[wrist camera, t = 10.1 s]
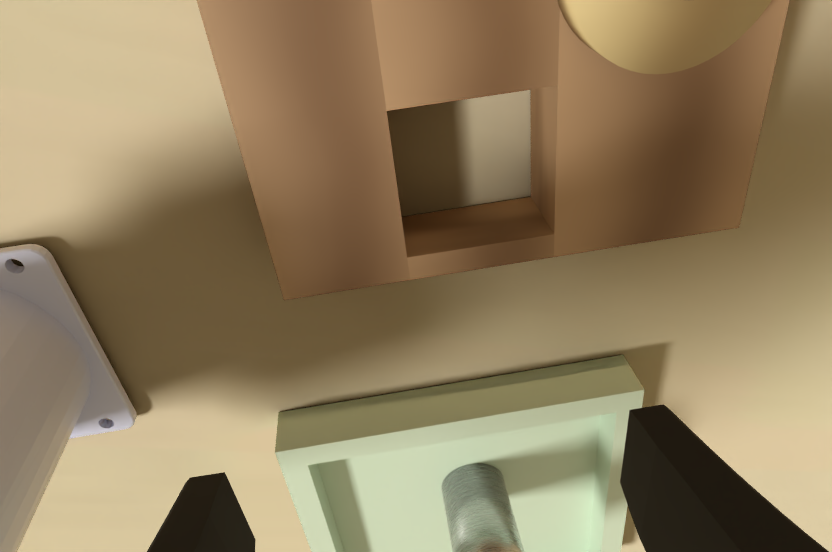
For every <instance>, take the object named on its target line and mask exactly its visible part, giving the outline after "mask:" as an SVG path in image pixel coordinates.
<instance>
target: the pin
mask: <svg viewBox="0 0 832 552" xmlns="http://www.w3.org/2000/svg"><path fill="white" fill-rule="evenodd" d="M441 489H442V495H443V501H444V506H445V512H446V517H447V523H448V529H449V534H450V540H451V546H452V551H453V552H524V549H523V545H522V542H521V538H520V535H519V531H518V528H517V524H516V521H515V517H514V514H513V510H512V506H511V503H510V499H509V496H508V492H507V489H506V485H505V482H504V478H503V475H502V473H501V471H500V470H499V469H497V468H496V467H494V466H492V465H488V464H483V463H474V464H468V465H464V466H461V467H459V468H457V469H455V470H453V471H452V472H450V473H449V474H448V475H447V476H446V477H445V479H444V480H443V482H442V486H441Z"/></svg>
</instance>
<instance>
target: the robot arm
mask: <svg viewBox="0 0 832 552" xmlns="http://www.w3.org/2000/svg"><path fill="white" fill-rule="evenodd" d="M11 259H16V260H18V261H20V262H21V263H22V264H23V265H24V267H22V266H18V265H15V264H14V263H13V262H12V261H11ZM136 417H137V414H136V411H135V409H134V407H133V405H132V403H131V402H130V400H129V398H128V396H127V394H126V392H125V390H124V388H123V387H122V385H121V383H120V381H119V379H118V377H117V375H116V374H115V372H114V370H113V368H112V366H111V364H110V362H109V360H108V359H107V357H106V355H105V353H104V351H103V349H102V347H101V345H100V344H99V342H98V340H97V338H96V336H95V334H94V332H93V331H92V329H91V327H90V325H89V323H88V321H87V319H86V317H85V316H84V314H83V312H82V310H81V308H80V306H79V304H78V303H77V301H76V299H75V297H74V295H73V293H72V291H71V289H70V288H69V286H68V284H67V282H66V280H65V278H64V276H63V274H62V273H61V271H60V269H59V267H58V265H57V263H56V261H55V260H54V258H53V256H52V254H51V253H50V252H49V251H48V250H47V249H46V248H44V247H43V246H40V245H37V244H25V245H18V246H12V247H5V248H0V552H17V550H18V548H19V546H20V544H21V542H22V540H23V537H24V535H25V533H26V531H27V529H28V526H29V524H30V522H31V520H32V518H33V516H34V513H35V511H36V509H37V507H38V505H39V503H40V500H41V498H42V496H43V494H44V492H45V490H46V487H47V485H48V483H49V481H50V479H51V477H52V474H53V472H54V470H55V468H56V466H57V463H58V461H59V459H60V457H61V455H62V453H63V450H64V448H65V446H66V444H67V442H68V440H69V439H70V438H76V437H82V436H88V435H94V434H100V433H106V432H112V431H118V430H124V429H128V428H130V427H132V426H133V425H134V422H135V419H136ZM104 418H108V419H110V420H107V419H104ZM620 484H621V487H622V490H623V493H624V496H625V498H626V501H627V504H628V507H629V510H630V513H631V516H632V518H633V521H634V524H635V527H636V529H637V532H638V535H639V537H640V540H641V542H642V544H643V546H644V548H645V550H646V552H829V551H827V550H826V549H825V548H824V547H822V546H821V545H820V544H819V543H817V542H816V541H815V540H814V539H812V538H811V537H810V536H809V535H808V534H806V533H805V532H804V531H803V530H801V529H800V528H799V527H798V526H797V525H796V524H794V523H793V522H792V521H791V520H790V519H788V518H787V517H786V516H785V515H784V514H782V513H781V512H780V511H779V510H778V509H777V508H776V507H774V506H773V505H772V504H771V503H770V502H769V501H768V500H767V499H765V498H764V497H763V496H762V495H761V494H760V493H759V492H757V491H756V490H755V489H754V488H753V487H752V486H751V485H749V484H748V483H747V482H746V481H745V480H744V479H743V478H742V477H741V476H739V475H738V474H737V473H736V472H735V471H734V470H733V469H732V468H731V467H730V466H728V465H727V464H726V463H725V462H724V461H723V460H722V459H721V458H720V457H719V456H718V455H717V454H716V453H715V452H713V451H712V450H711V449H710V448H709V447H708V446H707V445H706V444H705V443H704V442H703V441H702V440H701V439H700V438H699V437H698V436H697V435H696V434H695V433H693V432H692V431H691V430H690V429H689V428H688V427H687V426H686V425H685V424H684V423H683V422H682V421H681V420H680V419H679V418H678V417H677V416H676V415H675V414H674V413H673V412H672V411H671V410H670V409H669V408H667V407H666V406H665V405H658V406H651V407H645V408H638V409H632V410H630V411H629V418H628V426H627V433H626V441H625V448H624V455H623V463H622V470H621V478H620ZM147 552H255V538H254V536H253V533H252V531H251V529H250V527H249V525H248V522H247V520H246V518H245V516H244V514H243V511H242V509H241V507H240V505H239V503H238V501H237V498H236V496H235V494H234V492H233V490H232V487H231V485H230V483H229V481H228V479H227V476H226V474H225V472H224V473H218V474H211V475H205V476H198V477H192V478H189V480H188V481H187V482H186V483H185V485H184V487H183V489H182V490H181V492H180V494H179V496H178V498H177V499H176V501H175V503H174V505H173V507H172V508H171V510H170V512H169V514H168V516H167V517H166V519H165V521H164V523H163V525H162V526H161V528H160V530H159V532H158V533H157V535H156V537H155V539H154V540H153V542H152V544H151V545H150V547H149V549H148V551H147Z"/></svg>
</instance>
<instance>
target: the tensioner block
mask: <svg viewBox="0 0 832 552" xmlns="http://www.w3.org/2000/svg"><path fill="white" fill-rule="evenodd" d="M789 1H790V0H197V3H198V7H199V10H200V13H201V17H202V20H203V24H204V27H205V31H206V34H207V37H208V41H209V44H210V48H211V51H212V55H213V58H214V61H215V65H216V68H217V72H218V75H219V79H220V82H221V85H222V89H223V92H224V96H225V99H226V103H227V106H228V109H229V113H230V116H231V120H232V123H233V127H234V130H235V133H236V137H237V140H238V144H239V147H240V151H241V154H242V158H243V161H244V164H245V168H246V171H247V175H248V178H249V182H250V185H251V188H252V192H253V195H254V199H255V202H256V206H257V209H258V212H259V216H260V219H261V223H262V226H263V230H264V233H265V236H266V240H267V243H268V247H269V250H270V254H271V257H272V260H273V264H274V267H275V271H276V274H277V278H278V281H279V285H280V288H281V291H282V295H283V298H284V300H288V299H295V298H301V297H307V296H313V295H320V294H326V293H332V292H338V291H345V290H351V289H357V288H363V287H370V286H376V285H382V284H388V283H395V282H401V281H407V280H413V279H420V278H426V277H432V276H438V275H445V274H451V273H457V272H463V271H470V270H476V269H482V268H488V267H495V266H501V265H507V264H513V263H519V262H526V261H532V260H538V259H544V258H551V257H557V256H563V255H569V254H576V253H582V252H588V251H594V250H601V249H607V248H613V247H619V246H626V245H632V244H638V243H644V242H651V241H657V240H663V239H669V238H676V237H682V236H688V235H694V234H701V233H707V232H713V231H719V230H726V229H732V228H738V227H739V225H740V221H741V216H742V212H743V207H744V203H745V198H746V194H747V189H748V185H749V180H750V176H751V171H752V167H753V162H754V158H755V154H756V149H757V145H758V140H759V136H760V131H761V127H762V122H763V118H764V113H765V109H766V104H767V100H768V95H769V91H770V86H771V82H772V77H773V73H774V68H775V64H776V59H777V55H778V50H779V46H780V41H781V37H782V32H783V28H784V23H785V19H786V15H787V10H788V6H789ZM524 90H531V197H527V198H520V199H514V200H507V201H501V202H495V203H488V204H482V205H475V206H469V207H463V208H456V209H450V210H443V211H437V212H430V213H424V214H418V215H411V216H405V217H401V210H400V203H399V196H398V189H397V182H396V174H395V167H394V160H393V153H392V146H391V139H390V132H389V124H388V117H387V111H390V110H396V109H403V108H410V107H416V106H423V105H430V104H437V103H443V102H450V101H457V100H463V99H470V98H477V97H484V96H490V95H497V94H504V93H511V92H517V91H524Z"/></svg>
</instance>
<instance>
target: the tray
mask: <svg viewBox="0 0 832 552" xmlns="http://www.w3.org/2000/svg"><path fill="white" fill-rule="evenodd" d="M643 397H644V388H643V386H642V385H641V383H640V381H639V380H638V378H637V377H636V375H635V373H634V372H633V370H632V368H631V367H630V365H629V364H628V362H627V360H626V359H625V357H624V355H619V356H613V357H607V358H601V359H595V360H589V361H583V362H577V363H571V364H565V365H559V366H553V367H547V368H541V369H535V370H529V371H523V372H517V373H511V374H505V375H499V376H493V377H487V378H481V379H475V380H469V381H463V382H457V383H451V384H446V385H440V386H434V387H428V388H422V389H416V390H410V391H404V392H398V393H392V394H386V395H380V396H374V397H368V398H362V399H356V400H350V401H344V402H338V403H332V404H326V405H320V406H314V407H308V408H302V409H296V410H290V411H284V412H279V415H278V425H277V436H276V447H275V454H276V457H277V459H278V462H279V465H280V467H281V470H282V473H283V476H284V478H285V481H286V484H287V486H288V489H289V492H290V495H291V497H292V500H293V503H294V506H295V508H296V511H297V514H298V516H299V519H300V522H301V525H302V527H303V530H304V533H305V535H306V538H307V541H308V544H309V546H310V549H311V552H453V551H452V546H451V540H450V534H449V529H448V523H447V517H446V512H445V506H444V501H443V495H442V489H441V486H442V482H443V480H444V479H445V477H446V476H447V475H448V474H449V473H450V472H452V471H453V470H455V469H457V468H459V467H461V466H464V465H468V464H474V463H483V464H488V465H492V466H494V467H496V468H497V469H499V470H500V471H501V473H502V475H503V478H504V482H505V485H506V489H507V492H508V496H509V499H510V503H511V506H512V510H513V514H514V517H515V521H516V524H517V528H518V531H519V535H520V538H521V542H522V545H523V549H524V552H621V547H622V540H623V533H624V526H625V520H626V513H627V506H628V504H627V501H626V498H625V496H624V493H623V490H622V487H621V484H620V478H621V470H622V463H623V455H624V448H625V441H626V433H627V426H628V418H629V411H630V410H632V409H638V408H642V404H643Z"/></svg>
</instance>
